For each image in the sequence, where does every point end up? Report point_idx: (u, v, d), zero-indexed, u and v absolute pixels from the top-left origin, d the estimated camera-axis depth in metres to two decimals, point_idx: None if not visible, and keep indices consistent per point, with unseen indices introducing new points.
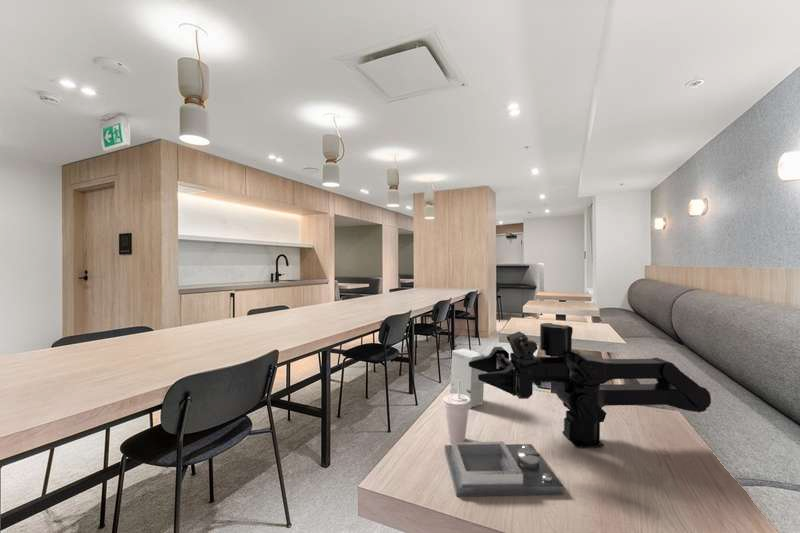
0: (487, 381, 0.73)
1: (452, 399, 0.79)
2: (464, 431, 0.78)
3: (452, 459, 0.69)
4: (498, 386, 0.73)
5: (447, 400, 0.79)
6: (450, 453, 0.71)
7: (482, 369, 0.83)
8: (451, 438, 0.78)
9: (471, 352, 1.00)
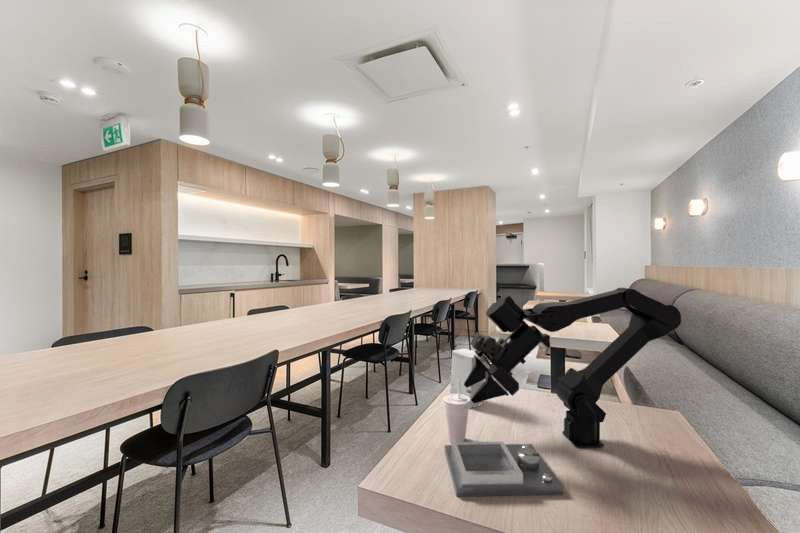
0: (481, 399, 0.74)
1: (452, 399, 0.79)
2: (464, 431, 0.78)
3: (452, 459, 0.69)
4: (492, 396, 0.73)
5: (447, 400, 0.79)
6: (450, 453, 0.71)
7: (478, 380, 0.84)
8: (451, 438, 0.78)
9: (471, 352, 1.00)
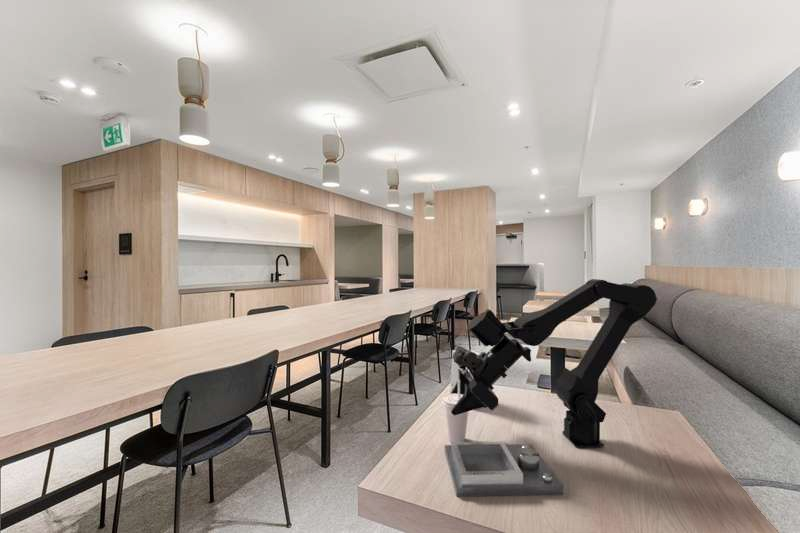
0: (460, 411, 0.76)
1: (452, 399, 0.79)
2: (464, 431, 0.78)
3: (452, 459, 0.69)
4: (471, 408, 0.75)
5: (447, 400, 0.79)
6: (450, 453, 0.71)
7: None
8: (451, 438, 0.78)
9: None
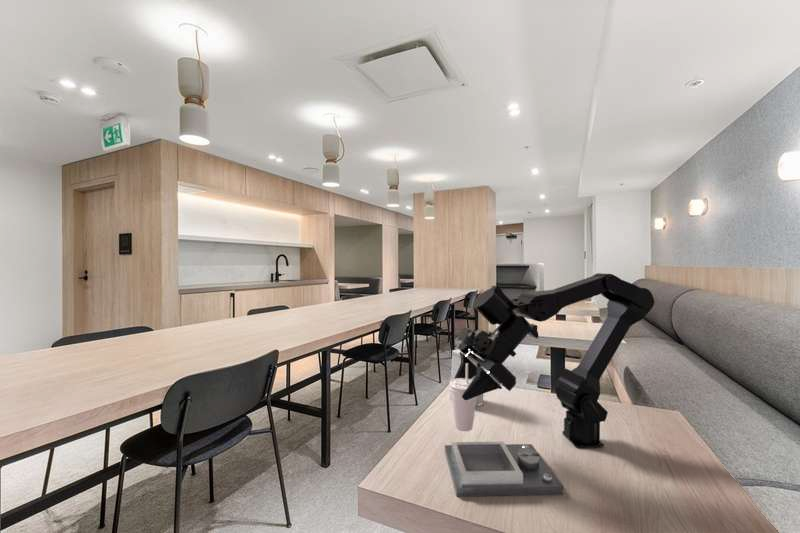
0: (473, 395, 0.70)
1: (460, 384, 0.73)
2: (473, 417, 0.73)
3: (452, 459, 0.69)
4: (484, 391, 0.70)
5: (455, 386, 0.73)
6: (450, 453, 0.71)
7: None
8: (460, 425, 0.73)
9: None
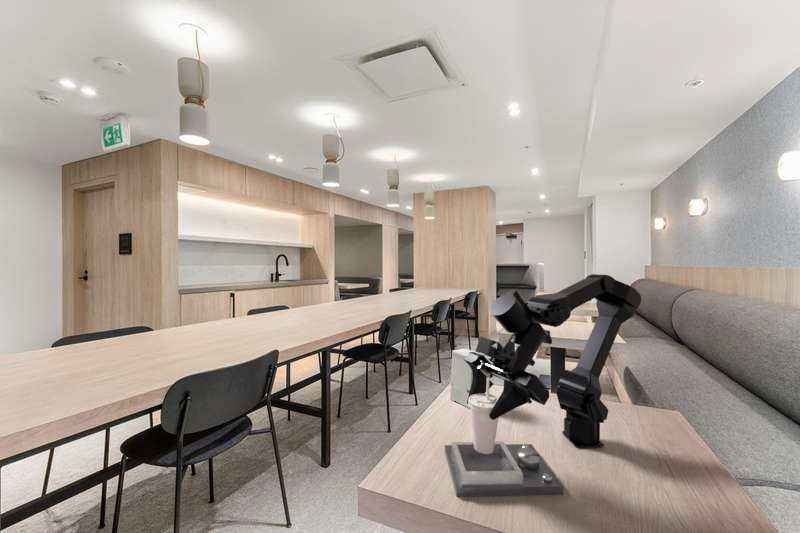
0: (501, 413, 0.63)
1: (482, 402, 0.66)
2: (495, 436, 0.66)
3: (452, 459, 0.69)
4: (512, 407, 0.64)
5: (478, 404, 0.65)
6: (450, 453, 0.71)
7: None
8: (483, 448, 0.65)
9: None
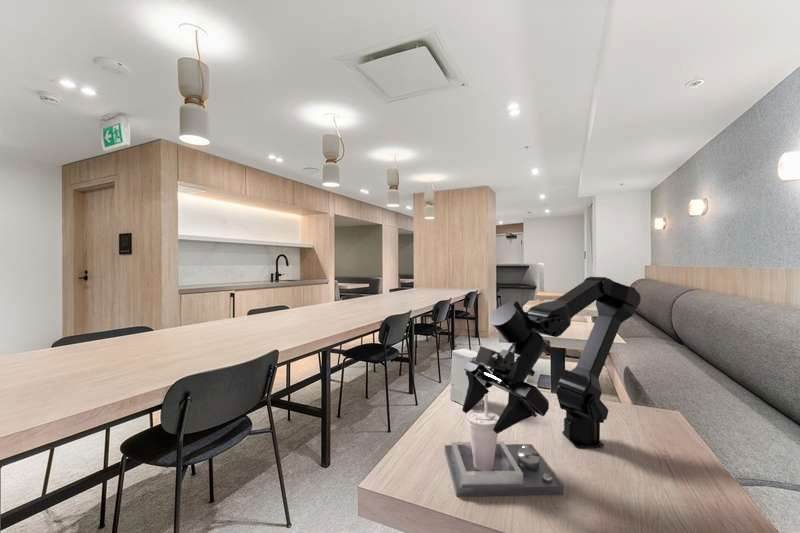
0: (505, 427, 0.62)
1: (481, 419, 0.66)
2: (494, 453, 0.67)
3: (452, 459, 0.69)
4: (516, 421, 0.62)
5: (477, 421, 0.65)
6: (450, 453, 0.71)
7: (476, 401, 0.72)
8: (482, 466, 0.65)
9: (471, 352, 1.00)
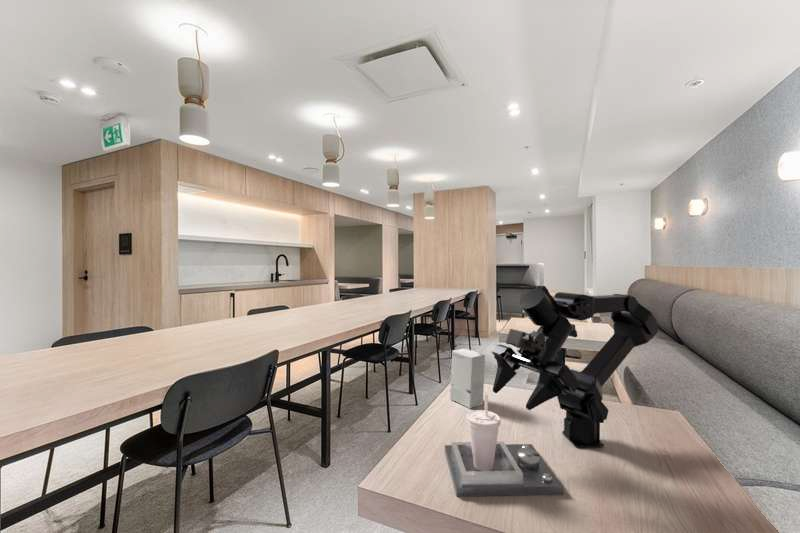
0: (537, 404, 0.65)
1: (481, 419, 0.66)
2: (494, 453, 0.67)
3: (452, 459, 0.69)
4: (547, 398, 0.66)
5: (477, 421, 0.65)
6: (450, 453, 0.71)
7: (505, 382, 0.75)
8: (482, 466, 0.65)
9: (471, 352, 1.00)
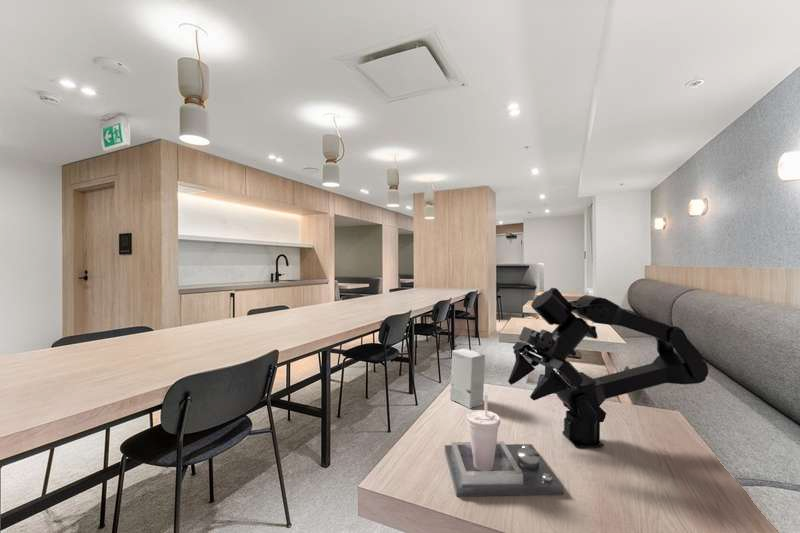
0: (541, 395, 0.72)
1: (480, 419, 0.66)
2: (494, 453, 0.67)
3: (452, 459, 0.69)
4: (552, 391, 0.71)
5: (477, 421, 0.65)
6: (450, 453, 0.71)
7: (522, 376, 0.82)
8: (482, 465, 0.65)
9: (471, 352, 1.00)
